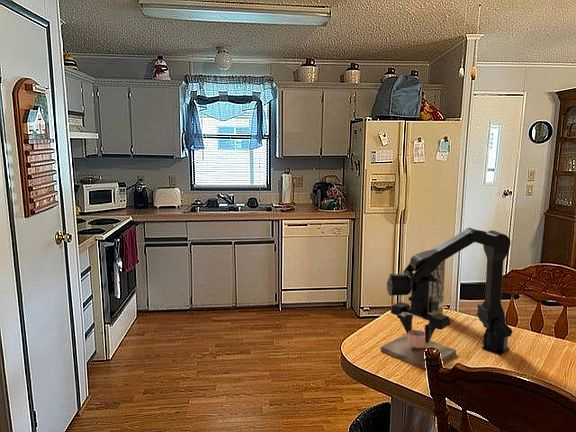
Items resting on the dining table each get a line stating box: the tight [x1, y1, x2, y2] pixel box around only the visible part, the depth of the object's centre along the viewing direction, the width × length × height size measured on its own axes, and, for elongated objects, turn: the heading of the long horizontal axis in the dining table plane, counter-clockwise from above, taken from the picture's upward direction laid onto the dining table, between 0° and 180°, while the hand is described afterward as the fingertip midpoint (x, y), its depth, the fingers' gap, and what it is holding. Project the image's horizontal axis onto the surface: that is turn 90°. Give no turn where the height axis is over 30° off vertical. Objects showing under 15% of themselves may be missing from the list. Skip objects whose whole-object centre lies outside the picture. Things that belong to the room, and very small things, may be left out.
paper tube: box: [429, 259, 446, 316], centre depth 176 cm, size 7×7×25 cm
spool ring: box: [408, 328, 429, 348], centre depth 145 cm, size 6×6×4 cm
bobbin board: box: [380, 332, 457, 371], centre depth 146 cm, size 18×16×6 cm
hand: (418, 339), depth 146 cm, fingers closed on spool ring, 6 cm apart
